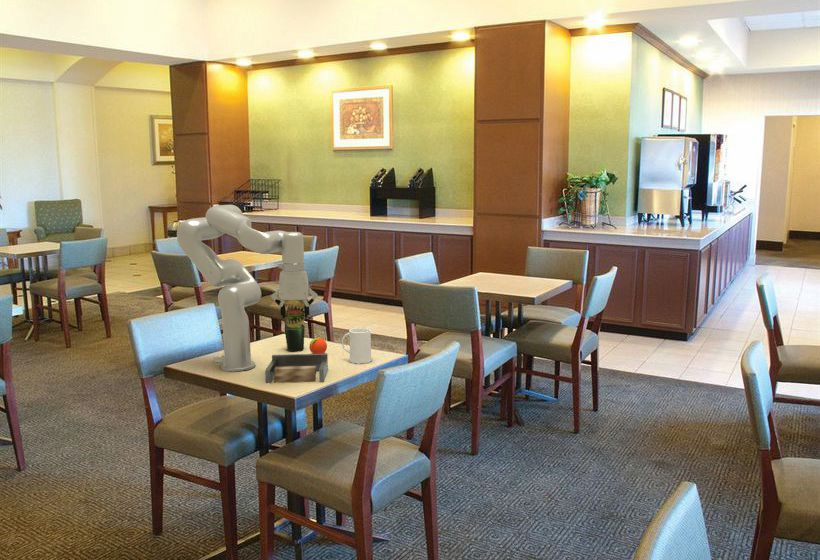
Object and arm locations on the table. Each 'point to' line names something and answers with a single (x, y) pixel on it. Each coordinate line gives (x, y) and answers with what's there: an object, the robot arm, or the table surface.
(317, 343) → the clementine
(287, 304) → the burger with flag pick
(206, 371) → the table surface
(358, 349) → the mug
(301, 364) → the frame
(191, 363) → the table surface
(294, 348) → the potion bottle
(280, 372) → the light brown long block
